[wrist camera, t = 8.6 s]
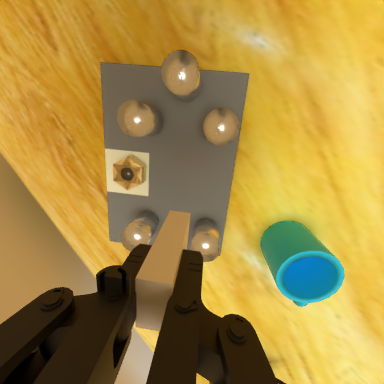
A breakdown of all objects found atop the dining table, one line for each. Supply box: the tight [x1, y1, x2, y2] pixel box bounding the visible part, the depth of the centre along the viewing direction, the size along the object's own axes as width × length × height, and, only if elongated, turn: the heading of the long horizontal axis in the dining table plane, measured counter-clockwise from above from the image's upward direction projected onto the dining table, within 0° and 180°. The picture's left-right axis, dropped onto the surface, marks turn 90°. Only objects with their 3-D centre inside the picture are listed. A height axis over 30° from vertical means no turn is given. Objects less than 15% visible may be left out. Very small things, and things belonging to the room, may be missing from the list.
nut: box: [113, 155, 146, 190], centre depth 29 cm, size 5×4×2 cm
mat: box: [101, 62, 249, 256], centre depth 30 cm, size 28×20×1 cm
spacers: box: [117, 50, 239, 262], centre depth 26 cm, size 28×14×6 cm, turn 175°
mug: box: [260, 221, 344, 307], centre depth 29 cm, size 12×8×8 cm
